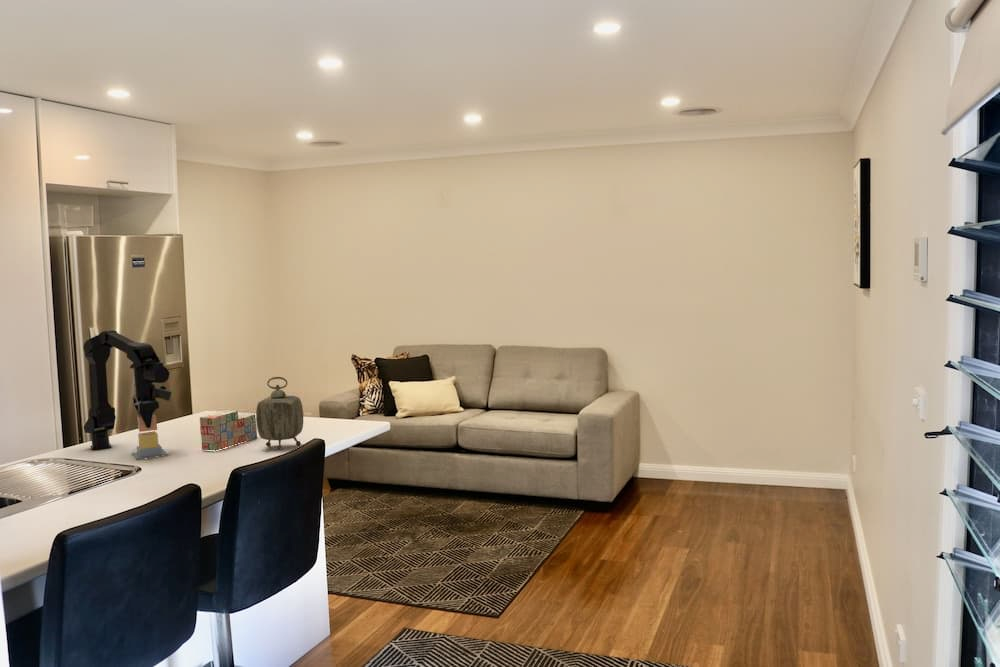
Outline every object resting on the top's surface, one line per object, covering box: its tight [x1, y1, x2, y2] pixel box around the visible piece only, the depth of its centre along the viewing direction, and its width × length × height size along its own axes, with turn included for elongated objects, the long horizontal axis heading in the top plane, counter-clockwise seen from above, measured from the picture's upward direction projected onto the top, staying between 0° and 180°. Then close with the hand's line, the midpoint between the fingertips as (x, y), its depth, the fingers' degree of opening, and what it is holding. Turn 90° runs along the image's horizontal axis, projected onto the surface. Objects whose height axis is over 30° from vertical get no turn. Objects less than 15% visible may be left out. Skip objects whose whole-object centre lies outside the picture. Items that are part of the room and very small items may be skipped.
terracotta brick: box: [136, 413, 158, 433], centre depth 288 cm, size 6×6×4 cm
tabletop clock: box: [255, 376, 304, 450], centre depth 291 cm, size 14×9×25 cm, turn 89°
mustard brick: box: [137, 430, 159, 449], centre depth 288 cm, size 6×6×4 cm
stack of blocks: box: [199, 409, 258, 451], centre depth 300 cm, size 21×6×12 cm, turn 155°
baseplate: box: [131, 443, 168, 461], centre depth 289 cm, size 10×10×3 cm
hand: (147, 426), depth 288 cm, fingers closed on terracotta brick, 6 cm apart
